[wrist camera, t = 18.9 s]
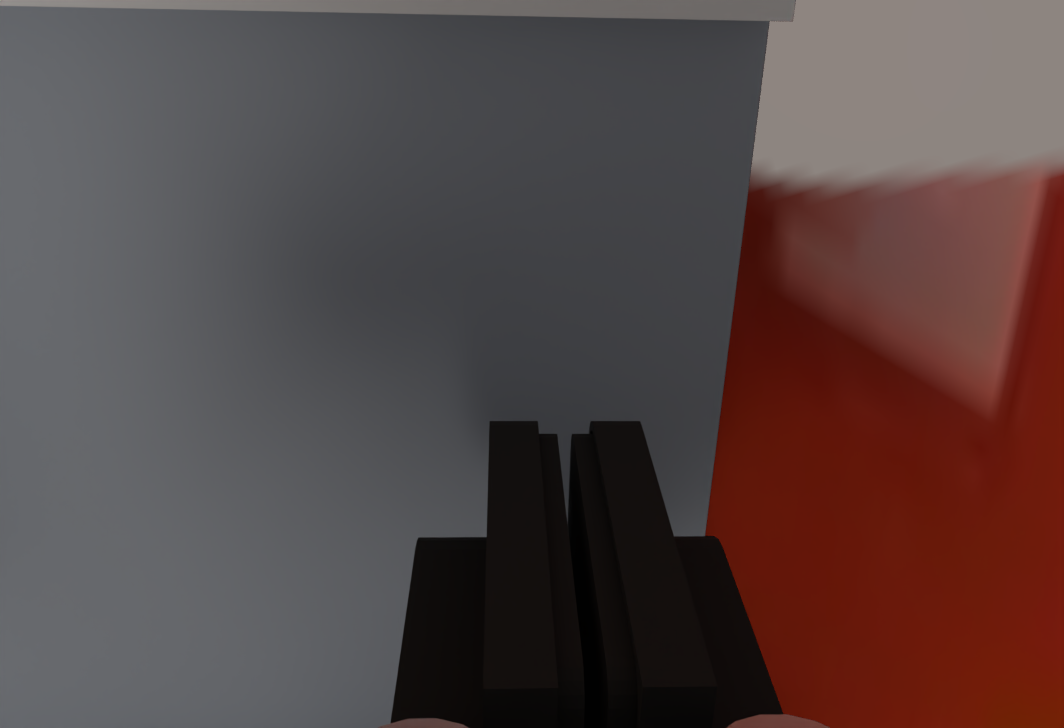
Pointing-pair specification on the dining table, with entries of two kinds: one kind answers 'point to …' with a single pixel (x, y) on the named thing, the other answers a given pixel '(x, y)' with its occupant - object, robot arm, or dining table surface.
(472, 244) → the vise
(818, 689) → the dining table surface
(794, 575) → the dining table surface
